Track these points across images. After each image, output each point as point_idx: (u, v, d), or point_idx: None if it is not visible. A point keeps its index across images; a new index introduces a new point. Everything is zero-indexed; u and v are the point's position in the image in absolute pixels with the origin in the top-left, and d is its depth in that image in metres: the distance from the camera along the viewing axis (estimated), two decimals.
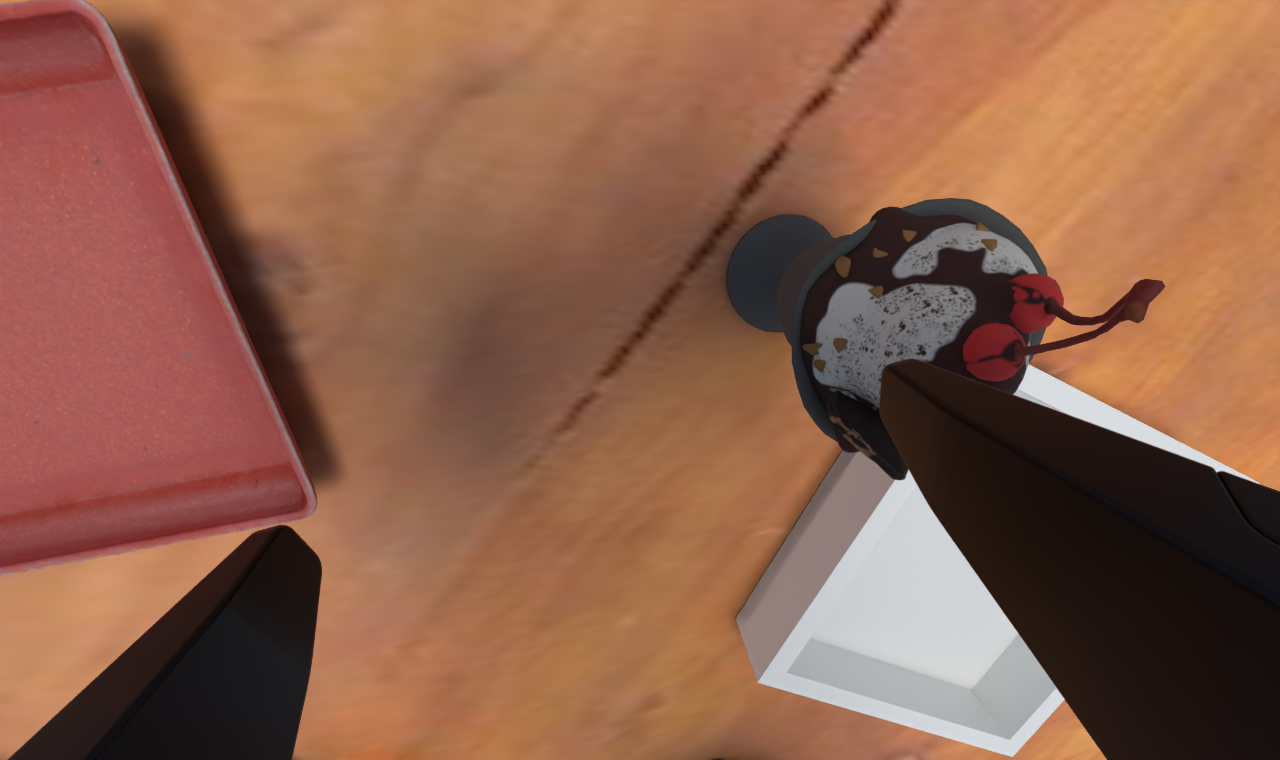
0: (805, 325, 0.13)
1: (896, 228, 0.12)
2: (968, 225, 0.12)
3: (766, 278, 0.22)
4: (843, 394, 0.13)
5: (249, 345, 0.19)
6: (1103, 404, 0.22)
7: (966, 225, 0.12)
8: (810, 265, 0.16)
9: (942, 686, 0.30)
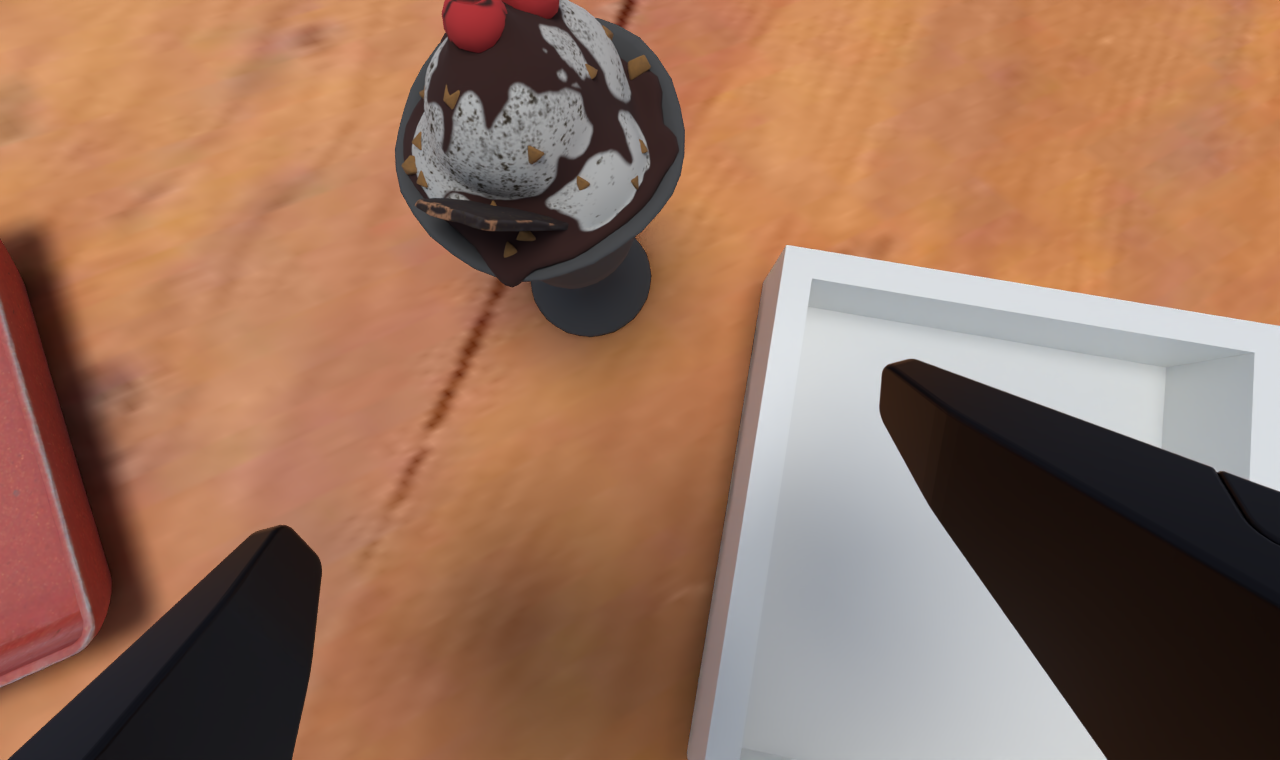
0: (404, 153, 0.12)
1: None
2: None
3: None
4: (451, 198, 0.12)
5: (44, 447, 0.19)
6: (975, 277, 0.18)
7: None
8: None
9: None
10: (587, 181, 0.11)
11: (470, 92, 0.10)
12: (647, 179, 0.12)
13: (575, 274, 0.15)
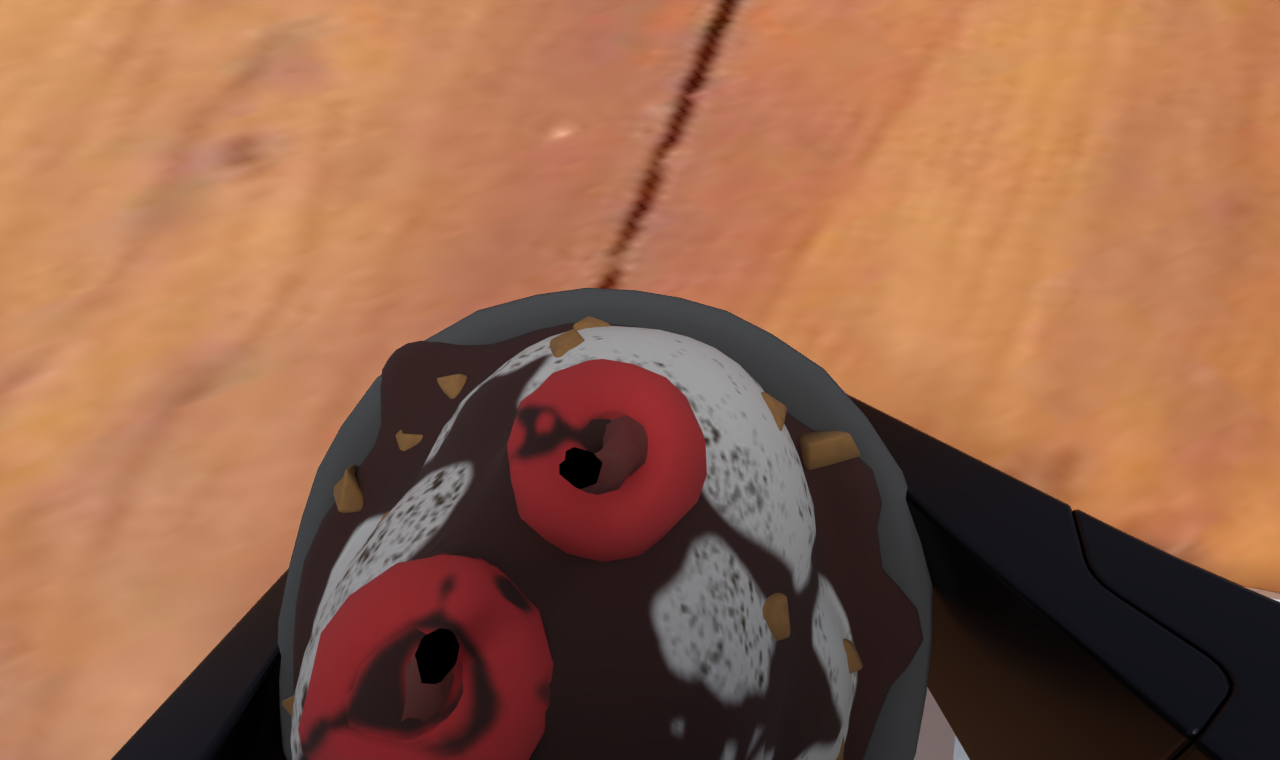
0: (295, 647, 0.05)
1: (421, 379, 0.06)
2: None
3: None
4: None
5: None
6: None
7: None
8: None
9: None
10: None
11: None
12: (858, 723, 0.05)
13: None
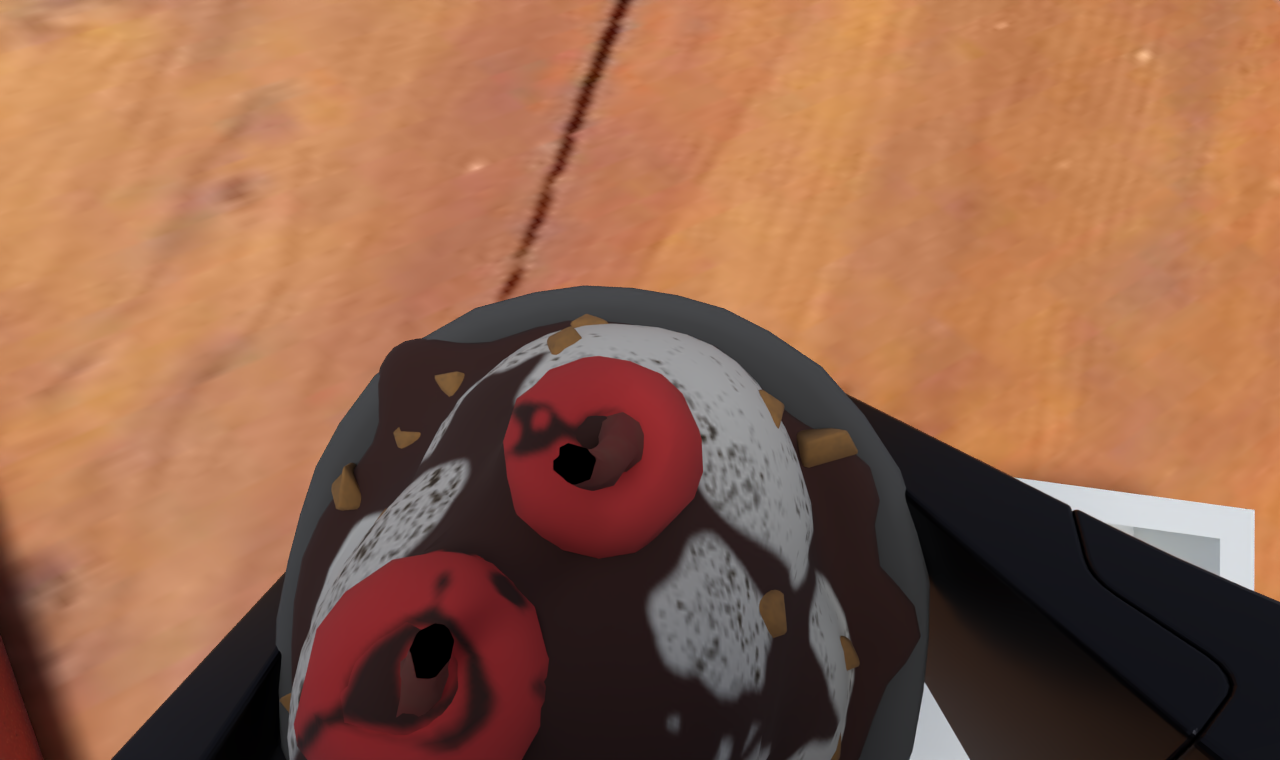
0: (293, 644, 0.05)
1: (419, 377, 0.06)
2: None
3: None
4: None
5: None
6: None
7: None
8: None
9: None
10: None
11: None
12: (855, 720, 0.05)
13: None
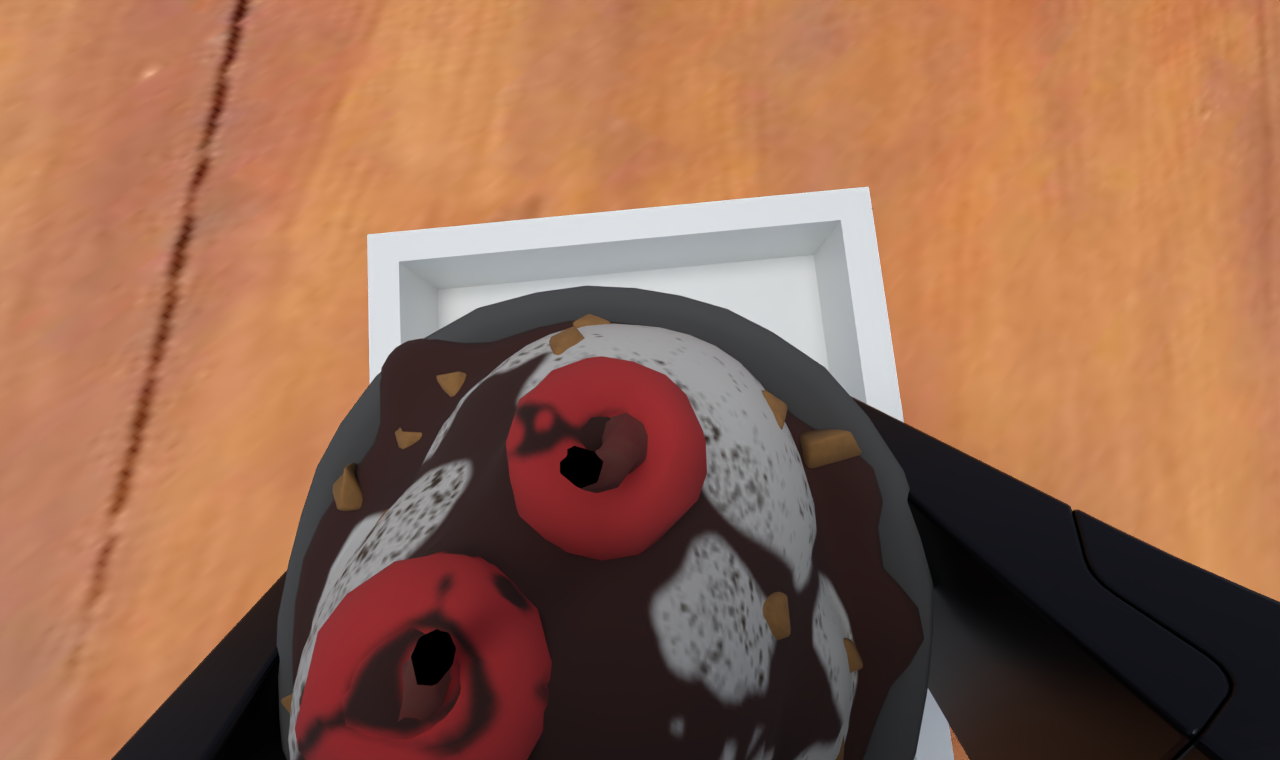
0: (294, 645, 0.05)
1: (420, 377, 0.06)
2: None
3: None
4: None
5: None
6: (559, 217, 0.17)
7: None
8: None
9: None
10: None
11: None
12: (858, 723, 0.05)
13: None
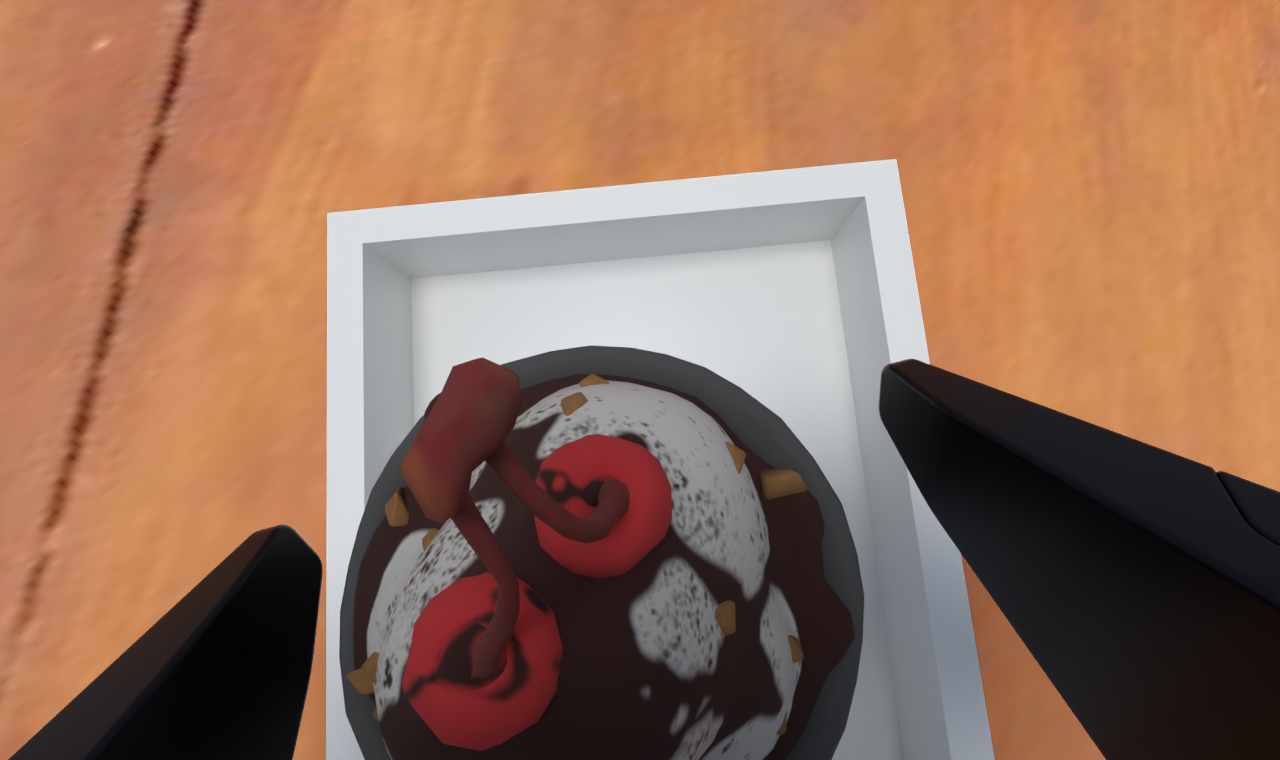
0: (354, 632, 0.07)
1: None
2: (577, 383, 0.07)
3: None
4: None
5: None
6: (545, 194, 0.15)
7: None
8: None
9: None
10: None
11: None
12: (800, 702, 0.07)
13: None
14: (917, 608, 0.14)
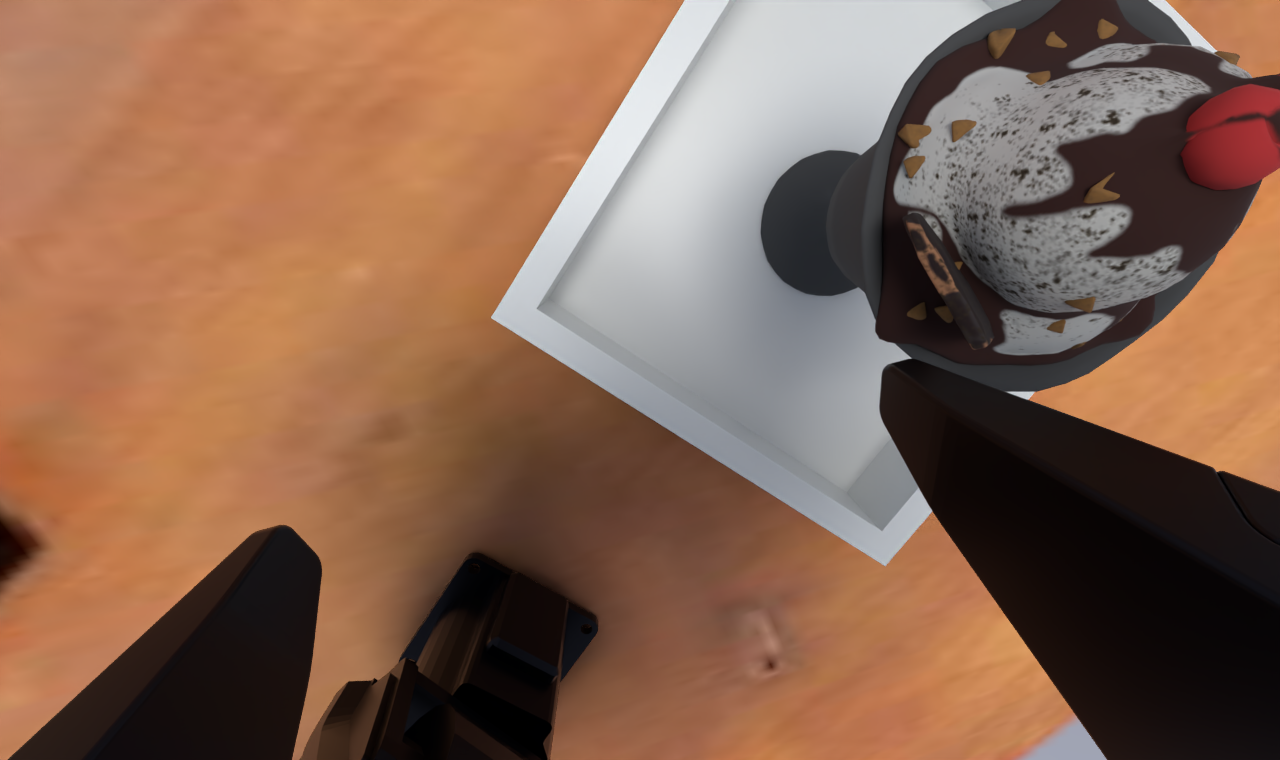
0: (915, 103, 0.09)
1: (1093, 12, 0.09)
2: None
3: (813, 210, 0.18)
4: (927, 221, 0.09)
5: None
6: None
7: None
8: None
9: (800, 465, 0.21)
10: (1062, 327, 0.09)
11: (1127, 209, 0.07)
12: (1087, 343, 0.10)
13: None
14: None
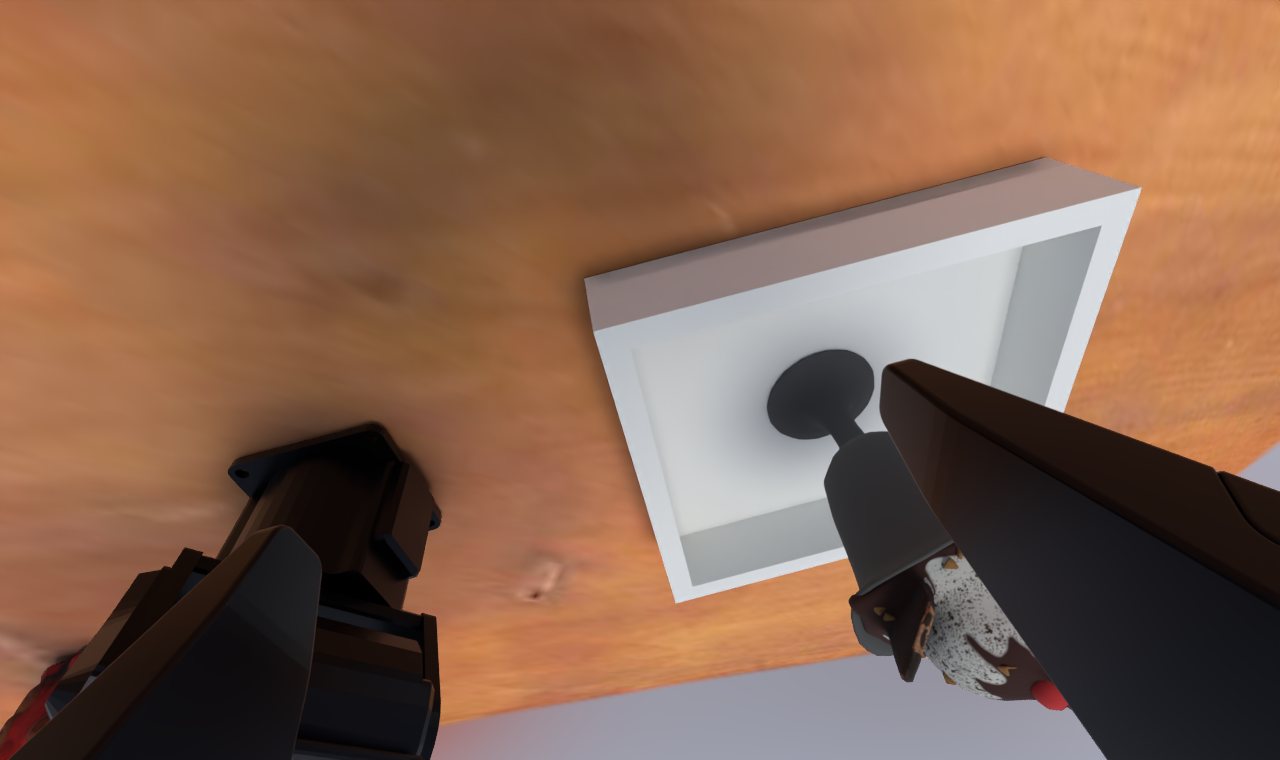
0: None
1: None
2: None
3: (825, 390, 0.23)
4: None
5: None
6: (1084, 347, 0.21)
7: None
8: None
9: None
10: None
11: (1005, 680, 0.14)
12: None
13: (842, 542, 0.19)
14: (789, 549, 0.26)
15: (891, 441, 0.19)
